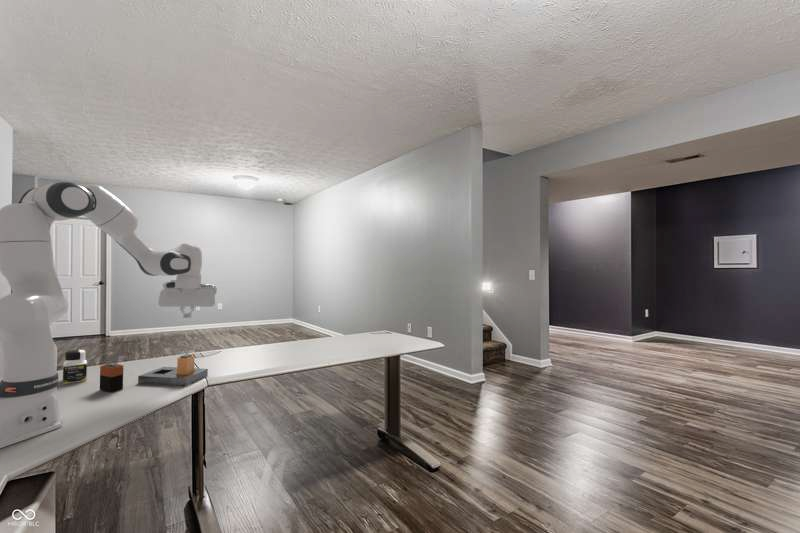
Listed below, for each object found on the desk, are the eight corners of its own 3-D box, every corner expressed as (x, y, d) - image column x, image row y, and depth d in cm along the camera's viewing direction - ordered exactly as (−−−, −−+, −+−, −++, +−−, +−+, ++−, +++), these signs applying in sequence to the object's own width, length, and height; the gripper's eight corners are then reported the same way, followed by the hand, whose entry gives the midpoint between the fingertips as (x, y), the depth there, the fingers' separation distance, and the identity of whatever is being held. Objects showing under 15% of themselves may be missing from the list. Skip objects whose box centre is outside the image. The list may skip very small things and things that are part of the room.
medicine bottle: (62, 384, 144) (63, 353, 144) (63, 379, 149) (63, 350, 149) (86, 381, 149) (87, 351, 149) (86, 376, 154) (87, 347, 154)
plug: (186, 380, 150) (187, 356, 150) (176, 380, 150) (177, 356, 150) (193, 377, 155) (194, 354, 155) (184, 376, 155) (185, 353, 155)
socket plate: (186, 386, 145) (186, 378, 145) (138, 383, 147) (138, 376, 147) (207, 375, 159) (207, 368, 159) (163, 373, 161) (163, 366, 161)
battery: (111, 392, 136) (111, 365, 136) (98, 390, 138) (99, 363, 138) (123, 389, 140) (124, 362, 140) (111, 386, 142) (112, 360, 142)
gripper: (217, 284, 160) (215, 316, 160) (161, 282, 152) (159, 316, 152) (216, 284, 154) (214, 318, 154) (158, 283, 146) (156, 318, 146)
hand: (187, 317), depth 153 cm, fingers closed
